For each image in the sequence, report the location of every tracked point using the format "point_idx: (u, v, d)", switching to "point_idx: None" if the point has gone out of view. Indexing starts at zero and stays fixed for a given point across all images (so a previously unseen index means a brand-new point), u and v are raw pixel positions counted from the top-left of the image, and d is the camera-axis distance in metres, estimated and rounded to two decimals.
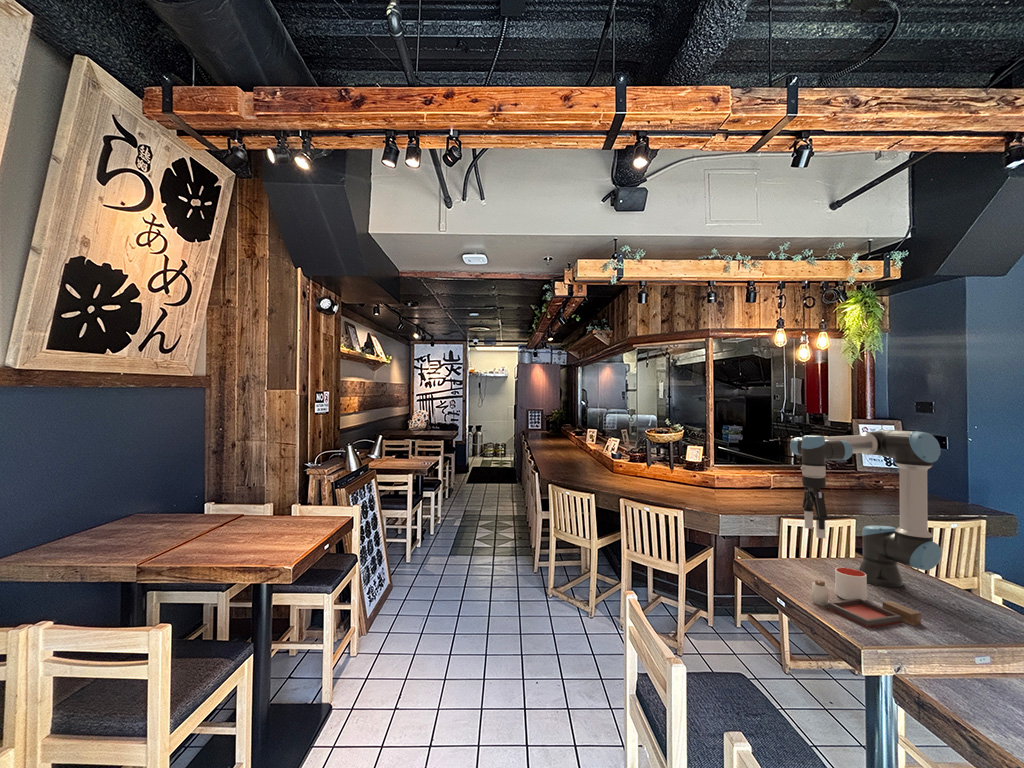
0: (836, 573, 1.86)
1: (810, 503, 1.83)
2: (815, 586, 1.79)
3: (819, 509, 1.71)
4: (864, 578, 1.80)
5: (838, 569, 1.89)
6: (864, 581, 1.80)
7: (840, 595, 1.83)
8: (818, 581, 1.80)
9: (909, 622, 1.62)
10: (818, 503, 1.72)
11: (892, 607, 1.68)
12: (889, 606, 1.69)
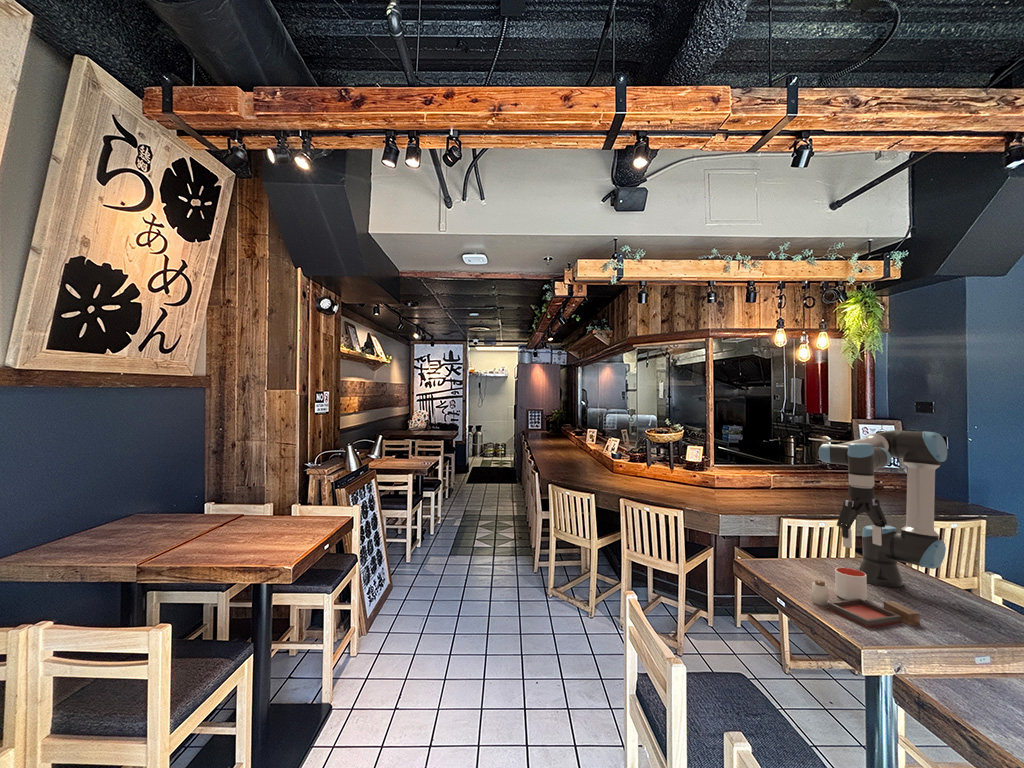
0: (836, 573, 1.86)
1: (871, 516, 1.71)
2: (815, 586, 1.79)
3: (840, 516, 1.68)
4: (864, 578, 1.80)
5: (838, 569, 1.89)
6: (864, 581, 1.80)
7: (840, 595, 1.83)
8: (818, 581, 1.80)
9: (907, 622, 1.63)
10: (842, 511, 1.69)
11: (892, 607, 1.68)
12: (889, 606, 1.70)
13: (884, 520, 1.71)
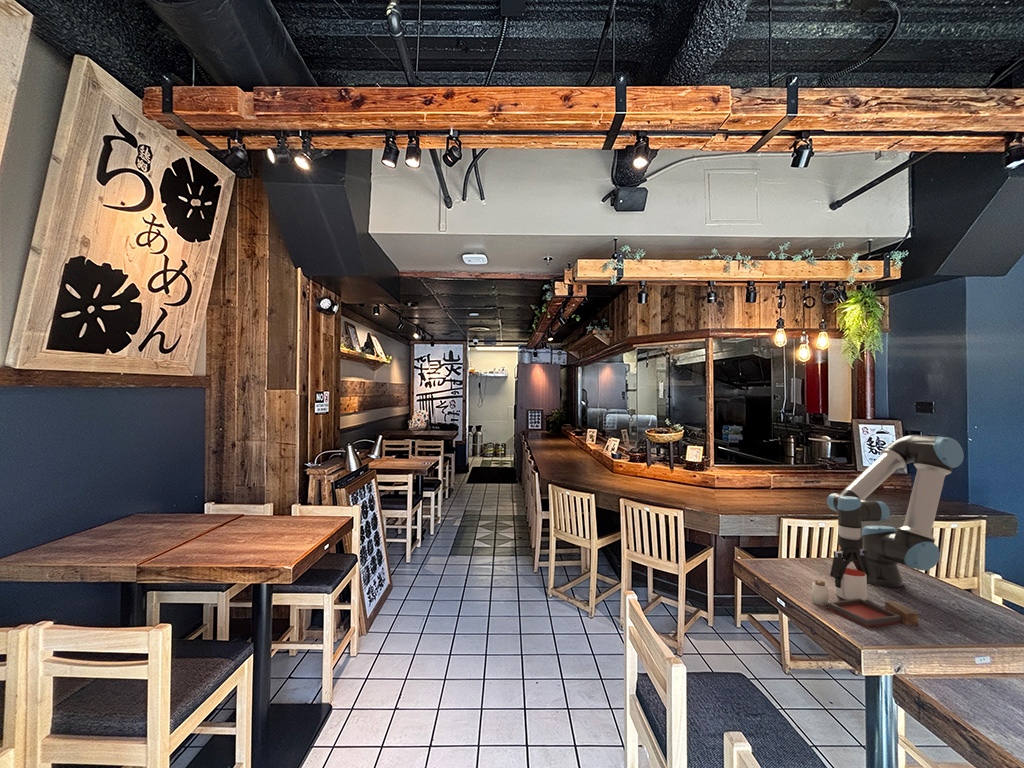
0: None
1: (857, 566, 1.86)
2: (815, 586, 1.79)
3: (832, 567, 1.84)
4: (864, 578, 1.80)
5: None
6: (864, 581, 1.80)
7: None
8: (818, 581, 1.80)
9: (904, 621, 1.63)
10: (833, 562, 1.84)
11: (892, 606, 1.69)
12: (889, 605, 1.70)
13: (868, 570, 1.85)
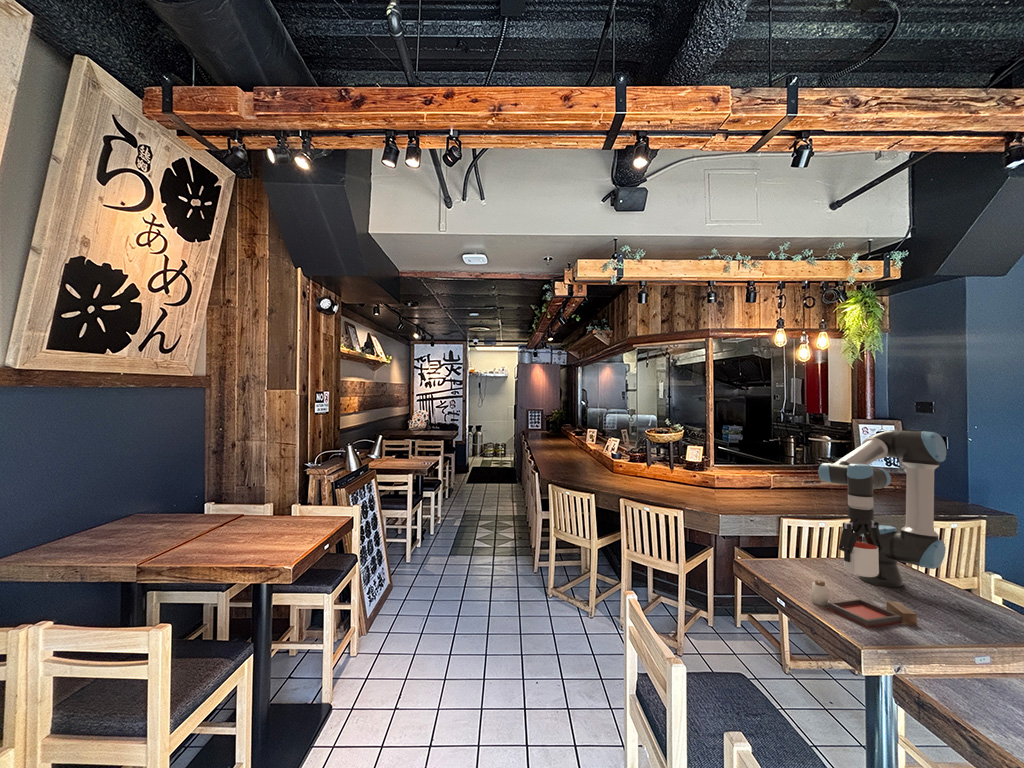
0: None
1: (868, 539, 1.71)
2: (815, 586, 1.79)
3: (841, 540, 1.69)
4: (876, 551, 1.65)
5: None
6: (876, 554, 1.65)
7: None
8: (818, 581, 1.80)
9: (902, 621, 1.63)
10: (842, 534, 1.69)
11: (892, 606, 1.69)
12: (890, 605, 1.70)
13: (881, 544, 1.71)
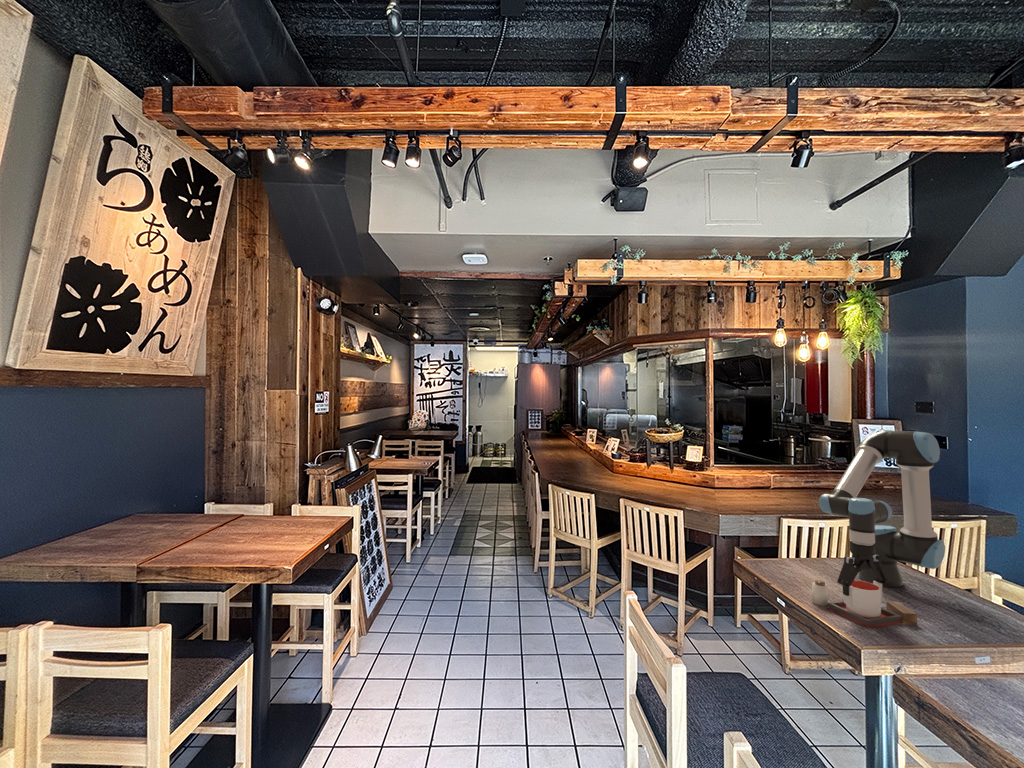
0: None
1: (872, 572, 1.70)
2: (815, 586, 1.79)
3: (841, 573, 1.68)
4: (878, 592, 1.64)
5: None
6: (878, 595, 1.64)
7: (851, 611, 1.68)
8: (818, 581, 1.80)
9: (902, 621, 1.63)
10: (843, 567, 1.68)
11: (892, 606, 1.69)
12: (890, 605, 1.70)
13: (885, 576, 1.70)
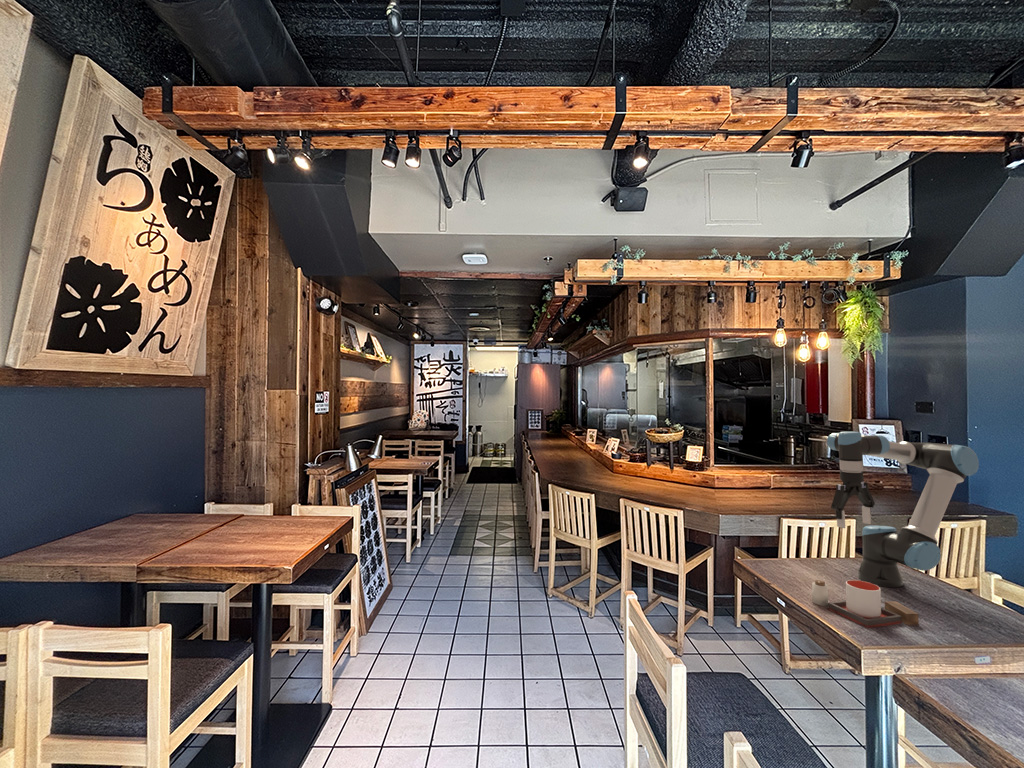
0: (847, 586, 1.70)
1: (860, 498, 1.87)
2: (815, 586, 1.79)
3: (833, 499, 1.84)
4: (878, 592, 1.64)
5: (849, 582, 1.73)
6: (878, 595, 1.64)
7: (852, 611, 1.68)
8: (818, 581, 1.80)
9: (904, 621, 1.63)
10: (835, 494, 1.84)
11: (892, 606, 1.69)
12: (889, 605, 1.70)
13: (872, 501, 1.87)
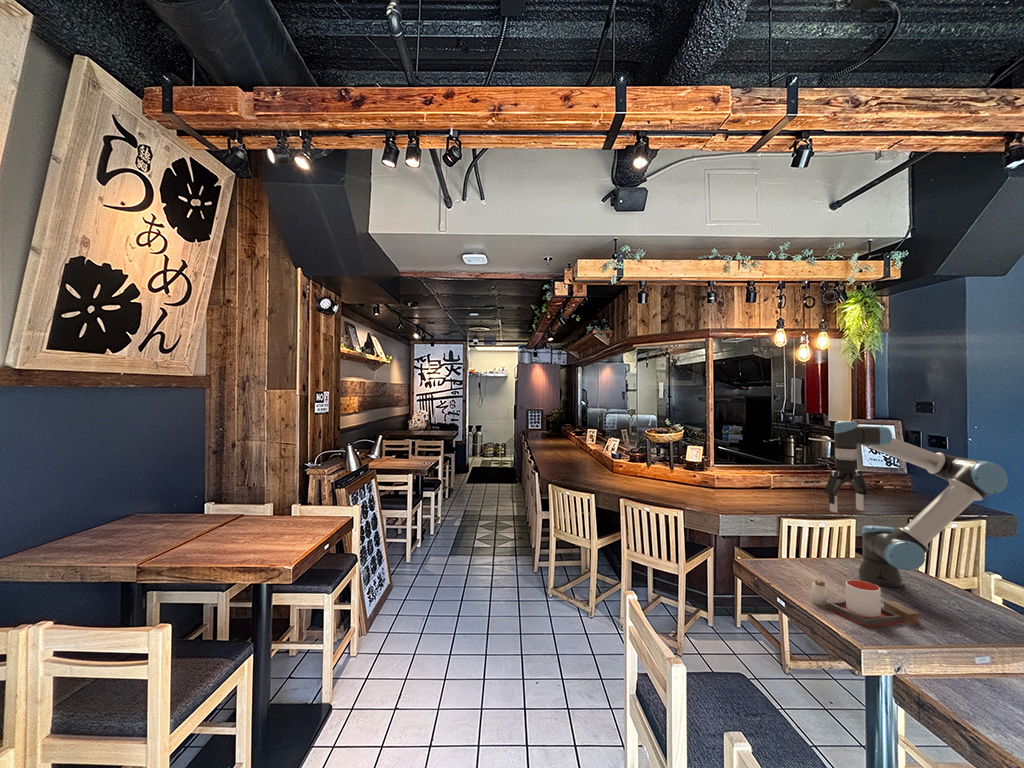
0: (847, 586, 1.70)
1: (854, 485, 1.95)
2: (815, 586, 1.79)
3: (827, 485, 1.93)
4: (878, 592, 1.64)
5: (849, 582, 1.73)
6: (878, 595, 1.64)
7: (852, 611, 1.68)
8: (818, 581, 1.80)
9: (906, 622, 1.63)
10: (829, 480, 1.93)
11: (892, 607, 1.69)
12: (889, 606, 1.70)
13: (866, 488, 1.95)
